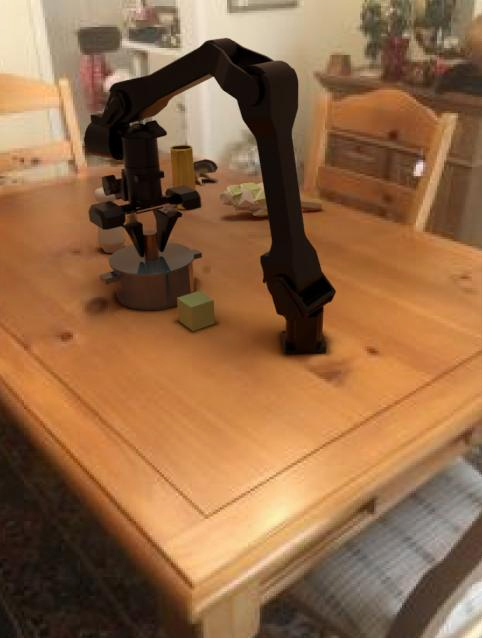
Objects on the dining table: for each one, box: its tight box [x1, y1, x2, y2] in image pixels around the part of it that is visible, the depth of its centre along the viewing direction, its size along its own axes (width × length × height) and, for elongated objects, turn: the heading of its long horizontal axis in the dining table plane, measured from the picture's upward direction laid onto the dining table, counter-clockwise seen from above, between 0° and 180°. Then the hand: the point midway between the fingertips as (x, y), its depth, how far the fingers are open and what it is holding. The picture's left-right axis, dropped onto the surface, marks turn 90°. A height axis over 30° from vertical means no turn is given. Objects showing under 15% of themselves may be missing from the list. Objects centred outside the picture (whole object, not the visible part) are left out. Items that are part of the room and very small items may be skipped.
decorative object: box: [219, 181, 323, 218], centre depth 147 cm, size 9×10×25 cm
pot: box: [99, 248, 203, 311], centre depth 112 cm, size 14×19×6 cm
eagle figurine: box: [193, 158, 219, 186], centre depth 171 cm, size 8×7×9 cm
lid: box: [108, 229, 194, 277], centre depth 109 cm, size 15×15×6 cm
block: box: [177, 290, 216, 332], centre depth 103 cm, size 4×4×4 cm
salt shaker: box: [94, 186, 126, 254], centre depth 128 cm, size 6×6×13 cm
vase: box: [169, 144, 197, 211], centre depth 152 cm, size 6×6×14 cm
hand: (151, 254), depth 110 cm, fingers open, 4 cm apart
